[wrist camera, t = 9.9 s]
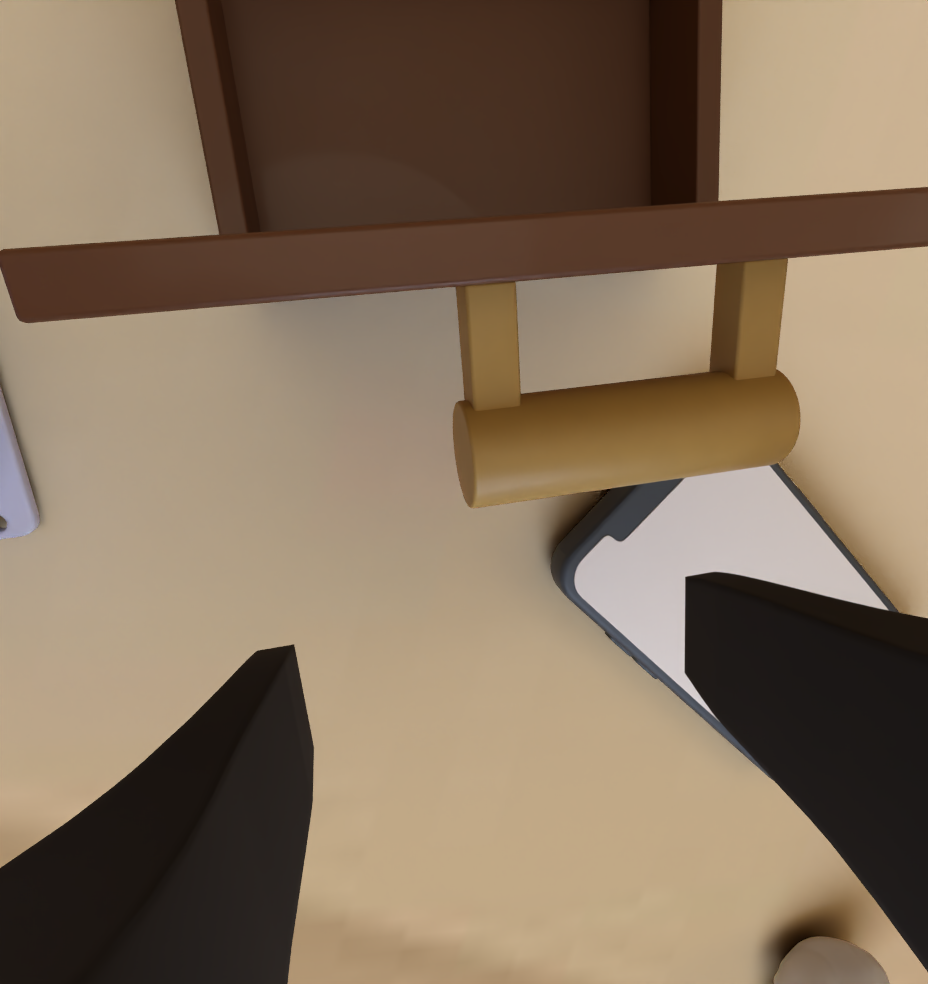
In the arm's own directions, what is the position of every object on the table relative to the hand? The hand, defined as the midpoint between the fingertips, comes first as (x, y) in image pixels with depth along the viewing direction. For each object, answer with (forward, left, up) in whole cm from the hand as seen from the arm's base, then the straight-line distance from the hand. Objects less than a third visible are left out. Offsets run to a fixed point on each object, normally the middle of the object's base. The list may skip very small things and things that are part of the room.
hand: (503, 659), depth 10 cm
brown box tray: (+2, +12, -10) cm, 16 cm away
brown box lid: (+2, +7, -2) cm, 8 cm away
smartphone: (+12, -6, -11) cm, 17 cm away
